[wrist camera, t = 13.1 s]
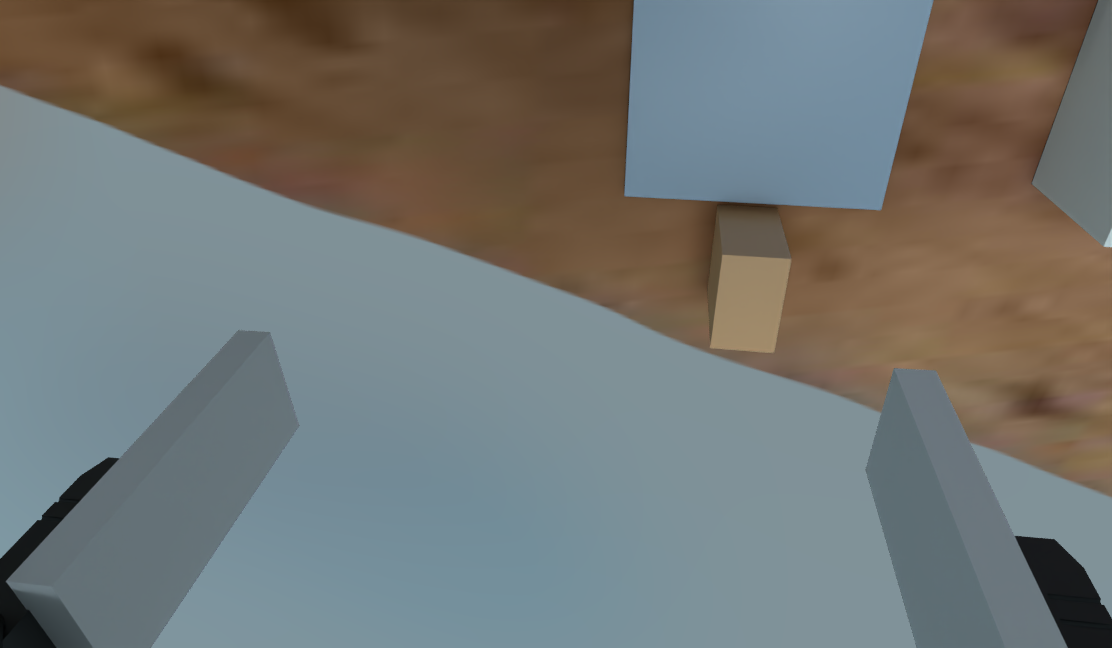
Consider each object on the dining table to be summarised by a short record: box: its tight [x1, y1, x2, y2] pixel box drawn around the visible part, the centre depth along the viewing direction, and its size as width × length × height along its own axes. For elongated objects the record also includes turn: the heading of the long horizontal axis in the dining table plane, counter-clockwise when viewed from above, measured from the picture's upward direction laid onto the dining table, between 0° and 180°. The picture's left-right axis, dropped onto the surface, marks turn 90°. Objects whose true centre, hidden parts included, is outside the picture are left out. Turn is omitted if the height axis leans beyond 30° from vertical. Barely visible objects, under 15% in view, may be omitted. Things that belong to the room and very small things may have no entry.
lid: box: [624, 0, 933, 353], centre depth 31 cm, size 22×13×6 cm, turn 0°
